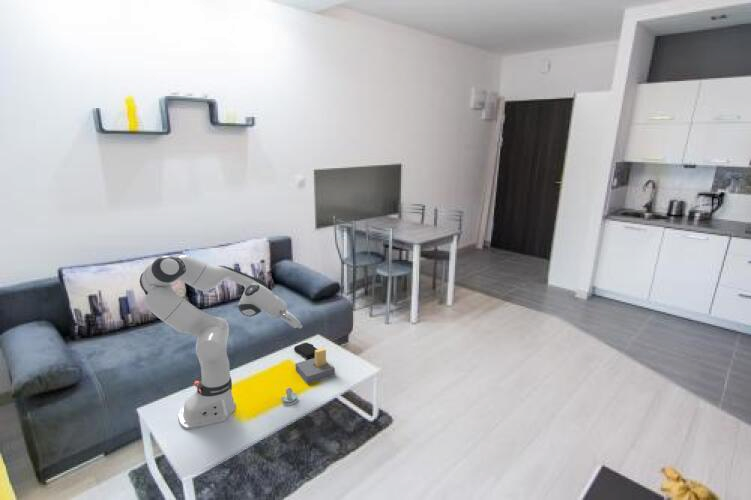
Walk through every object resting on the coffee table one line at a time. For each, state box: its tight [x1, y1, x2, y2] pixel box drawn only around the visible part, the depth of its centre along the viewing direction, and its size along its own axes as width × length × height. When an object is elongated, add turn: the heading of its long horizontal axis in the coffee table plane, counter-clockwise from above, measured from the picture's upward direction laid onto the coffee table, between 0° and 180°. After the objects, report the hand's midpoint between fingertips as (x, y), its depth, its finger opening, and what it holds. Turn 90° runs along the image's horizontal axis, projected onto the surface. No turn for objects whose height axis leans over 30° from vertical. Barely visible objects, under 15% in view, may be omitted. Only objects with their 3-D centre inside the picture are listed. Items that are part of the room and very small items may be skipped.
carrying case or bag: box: [293, 342, 318, 360], centre depth 222 cm, size 11×3×15 cm
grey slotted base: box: [295, 357, 336, 385], centre depth 202 cm, size 15×14×5 cm
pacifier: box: [280, 387, 299, 406], centre depth 179 cm, size 7×6×6 cm
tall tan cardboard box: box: [314, 347, 327, 368], centre depth 203 cm, size 5×2×12 cm, turn 124°
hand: (296, 323), depth 190 cm, fingers open, 8 cm apart
